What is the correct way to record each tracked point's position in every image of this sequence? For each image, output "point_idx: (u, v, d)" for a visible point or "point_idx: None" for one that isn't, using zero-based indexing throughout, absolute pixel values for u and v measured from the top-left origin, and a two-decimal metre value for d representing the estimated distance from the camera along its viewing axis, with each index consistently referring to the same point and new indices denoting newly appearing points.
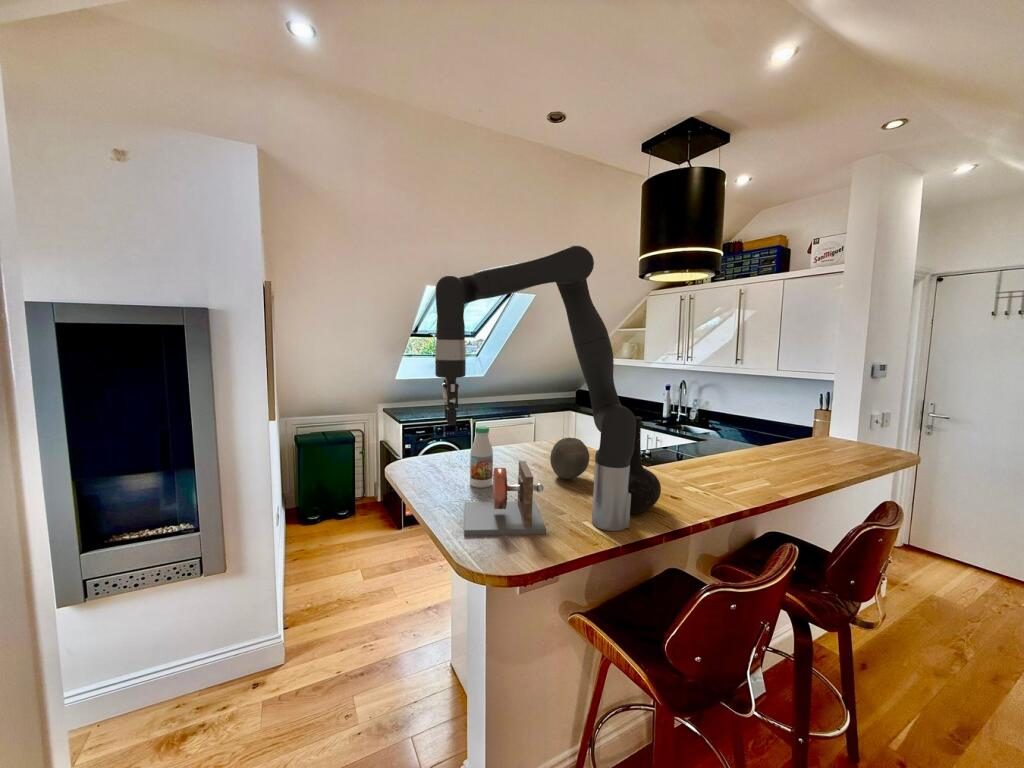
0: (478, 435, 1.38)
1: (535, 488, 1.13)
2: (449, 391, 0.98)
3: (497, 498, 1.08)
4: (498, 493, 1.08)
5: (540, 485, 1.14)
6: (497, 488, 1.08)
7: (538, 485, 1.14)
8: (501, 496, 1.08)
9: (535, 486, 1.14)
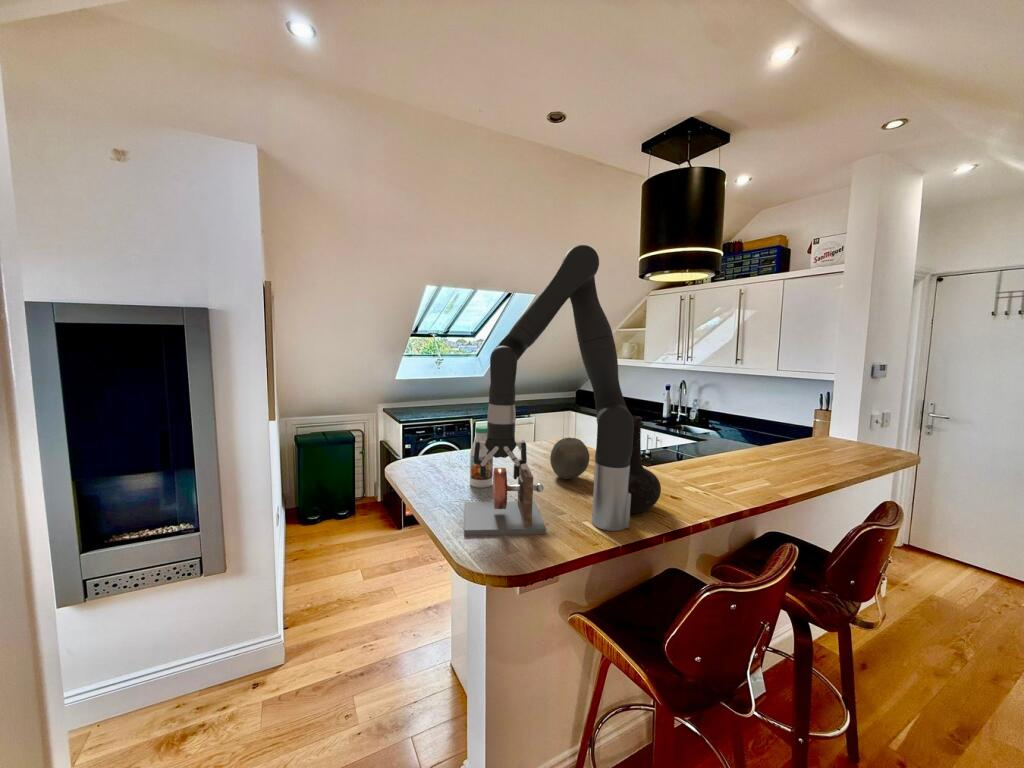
0: (478, 435, 1.38)
1: (535, 488, 1.13)
2: None
3: (497, 498, 1.08)
4: (498, 493, 1.08)
5: (540, 485, 1.14)
6: (497, 488, 1.08)
7: (538, 485, 1.14)
8: (501, 496, 1.08)
9: (535, 486, 1.14)
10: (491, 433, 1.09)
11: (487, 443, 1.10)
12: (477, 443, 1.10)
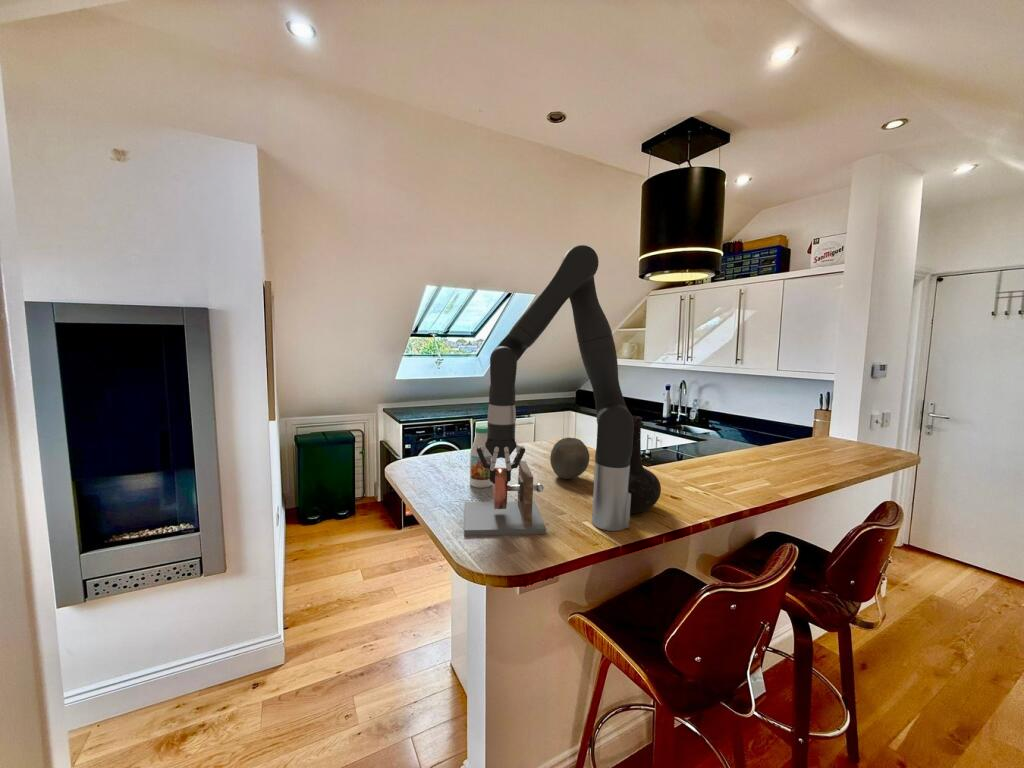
0: (478, 435, 1.38)
1: (535, 488, 1.13)
2: None
3: (497, 498, 1.08)
4: (498, 493, 1.08)
5: (540, 485, 1.14)
6: (497, 488, 1.08)
7: (538, 485, 1.14)
8: (501, 496, 1.08)
9: (535, 486, 1.14)
10: (491, 434, 1.09)
11: (487, 445, 1.10)
12: (478, 449, 1.10)
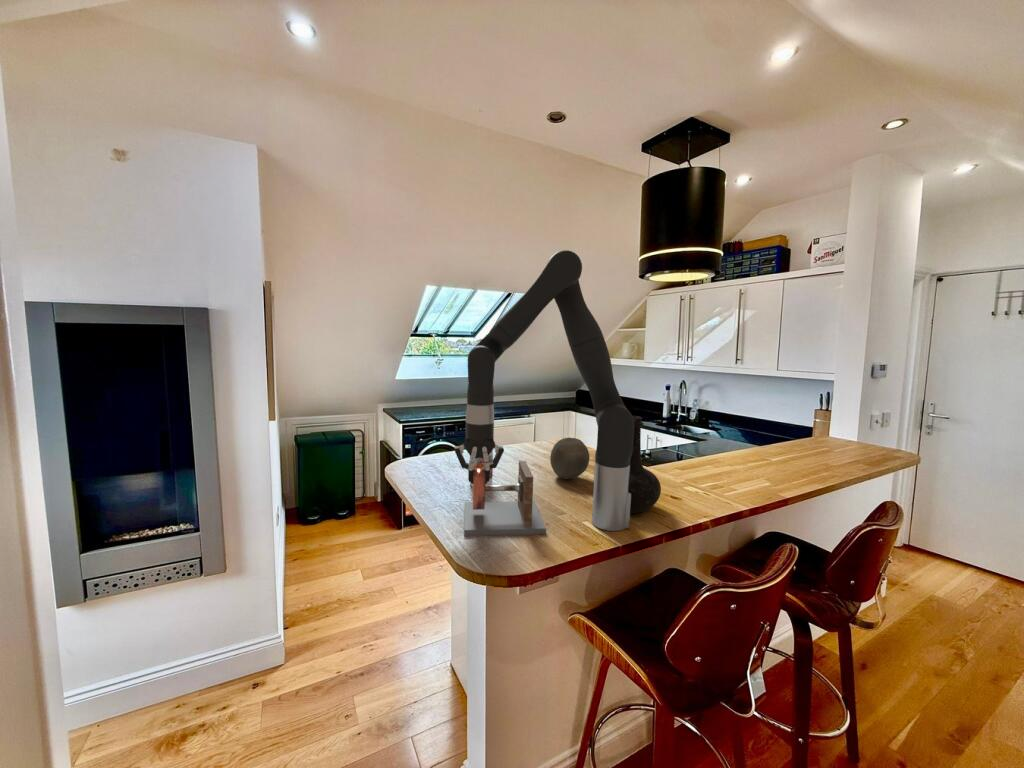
0: None
1: (514, 488, 1.13)
2: (501, 454, 1.11)
3: (475, 498, 1.07)
4: (476, 493, 1.07)
5: (519, 485, 1.13)
6: (475, 488, 1.07)
7: (517, 485, 1.13)
8: (479, 496, 1.07)
9: (514, 486, 1.13)
10: (469, 433, 1.08)
11: (465, 445, 1.10)
12: (456, 449, 1.09)
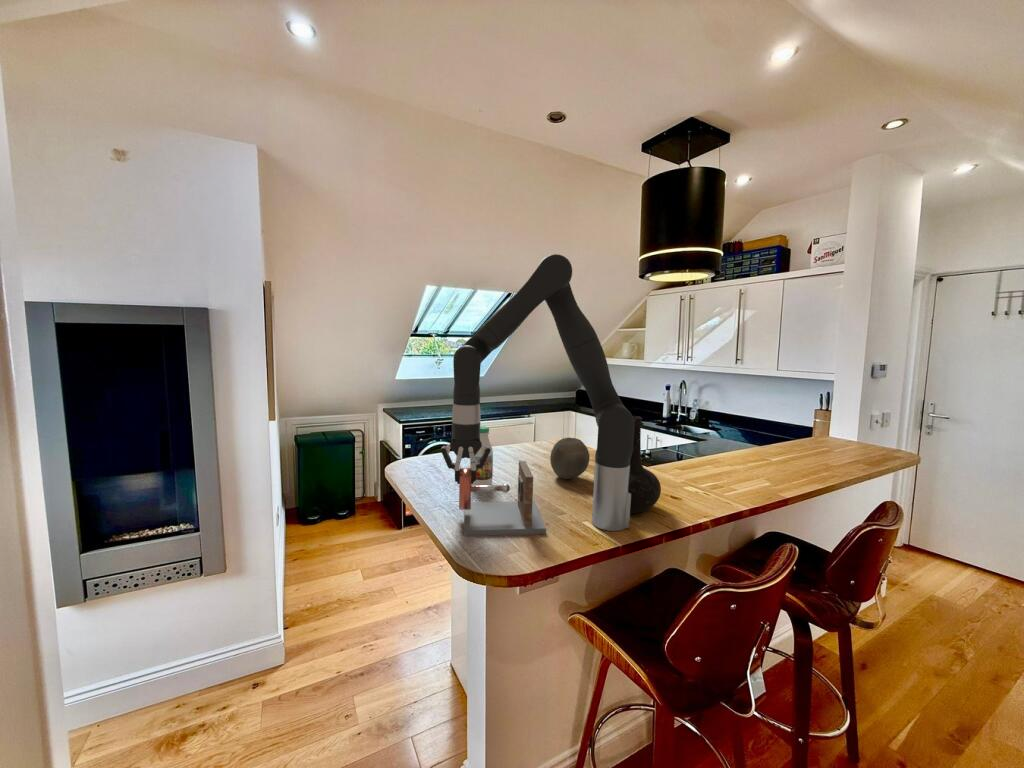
0: None
1: (501, 488, 1.12)
2: None
3: (461, 498, 1.07)
4: (462, 493, 1.07)
5: (506, 485, 1.13)
6: (461, 488, 1.07)
7: (504, 485, 1.13)
8: (465, 496, 1.07)
9: (501, 486, 1.13)
10: (455, 433, 1.08)
11: (451, 445, 1.09)
12: (442, 449, 1.09)
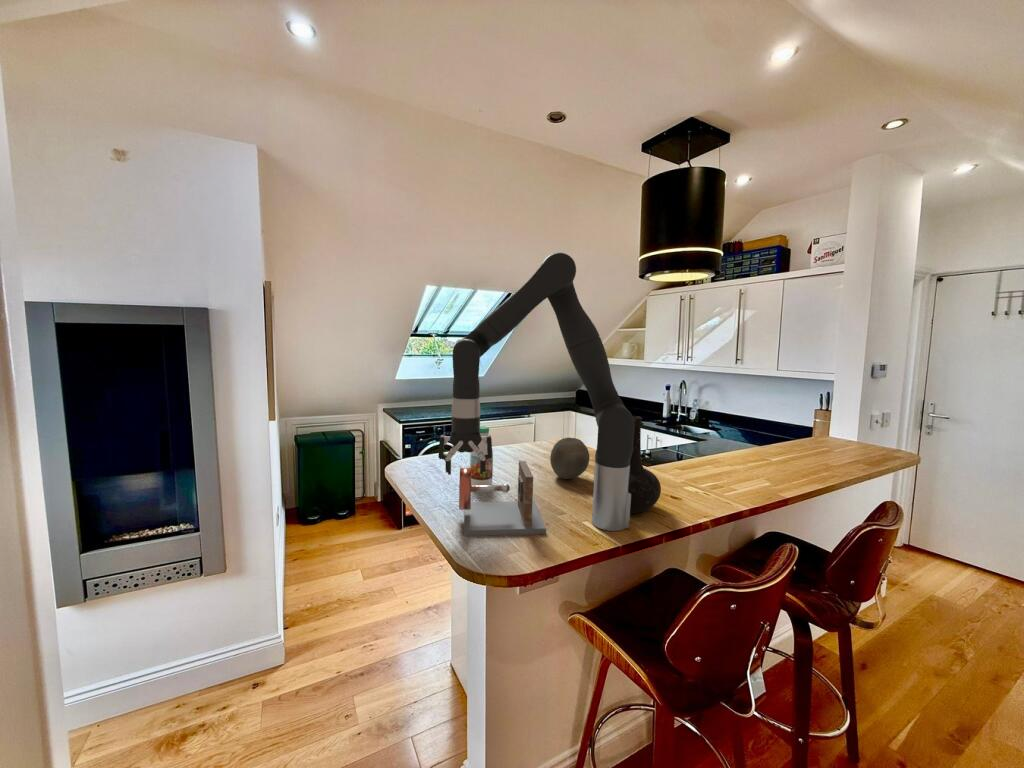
0: None
1: (501, 488, 1.12)
2: (491, 443, 1.11)
3: (461, 498, 1.07)
4: (462, 493, 1.07)
5: (506, 485, 1.13)
6: (461, 488, 1.07)
7: (504, 485, 1.13)
8: (465, 496, 1.07)
9: (501, 486, 1.13)
10: (455, 427, 1.07)
11: (451, 438, 1.09)
12: (441, 438, 1.09)
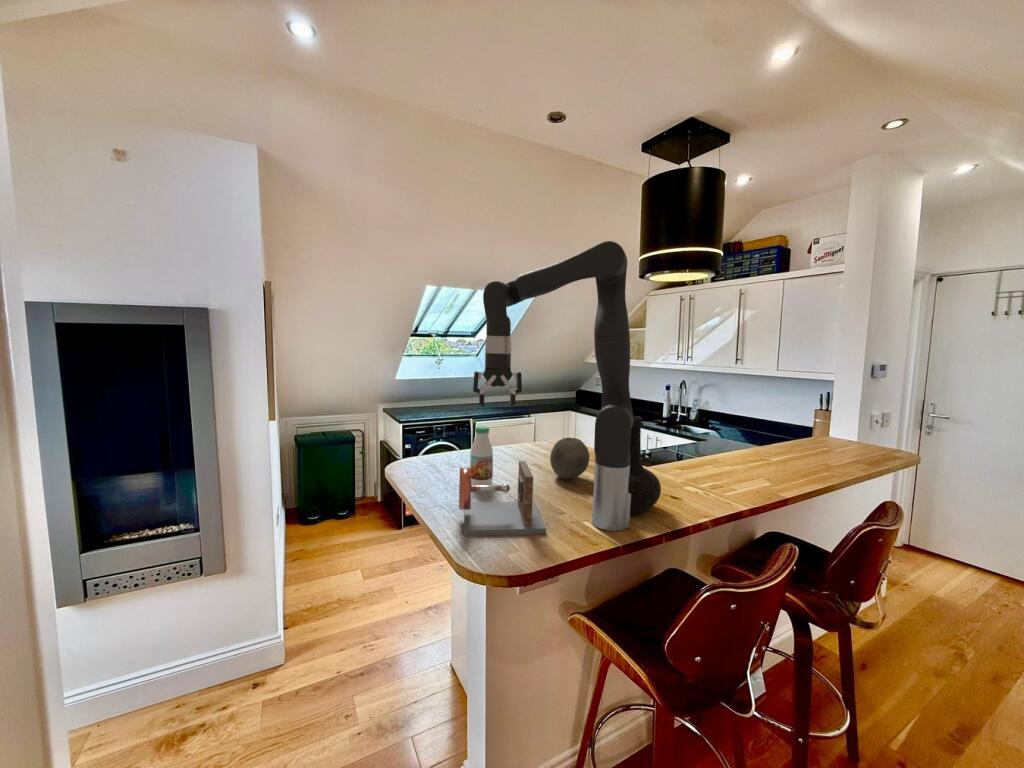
0: (478, 435, 1.38)
1: (501, 488, 1.12)
2: None
3: (461, 498, 1.07)
4: (462, 493, 1.07)
5: (506, 485, 1.13)
6: (461, 488, 1.07)
7: (504, 485, 1.13)
8: (465, 496, 1.07)
9: (501, 486, 1.13)
10: (489, 362, 1.18)
11: (485, 373, 1.20)
12: (476, 372, 1.19)
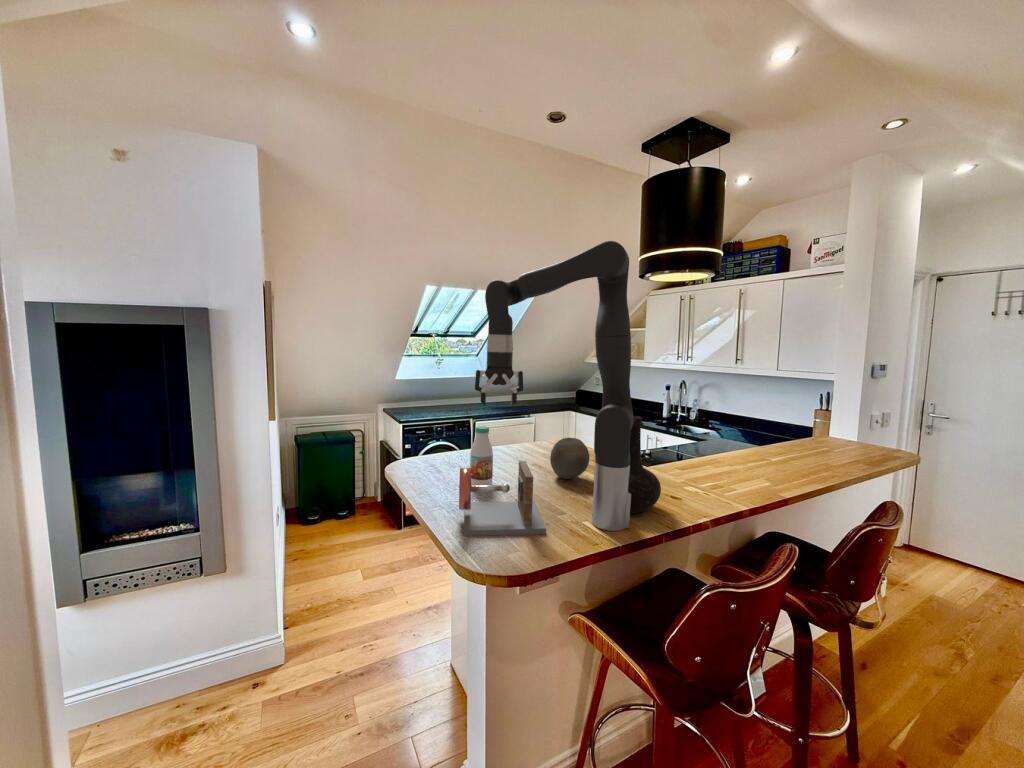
0: (478, 435, 1.38)
1: (501, 488, 1.12)
2: (522, 377, 1.22)
3: (461, 498, 1.07)
4: (462, 493, 1.07)
5: (506, 485, 1.13)
6: (461, 488, 1.07)
7: (504, 485, 1.13)
8: (465, 496, 1.07)
9: (501, 486, 1.13)
10: (490, 361, 1.19)
11: (487, 371, 1.20)
12: (478, 371, 1.20)
